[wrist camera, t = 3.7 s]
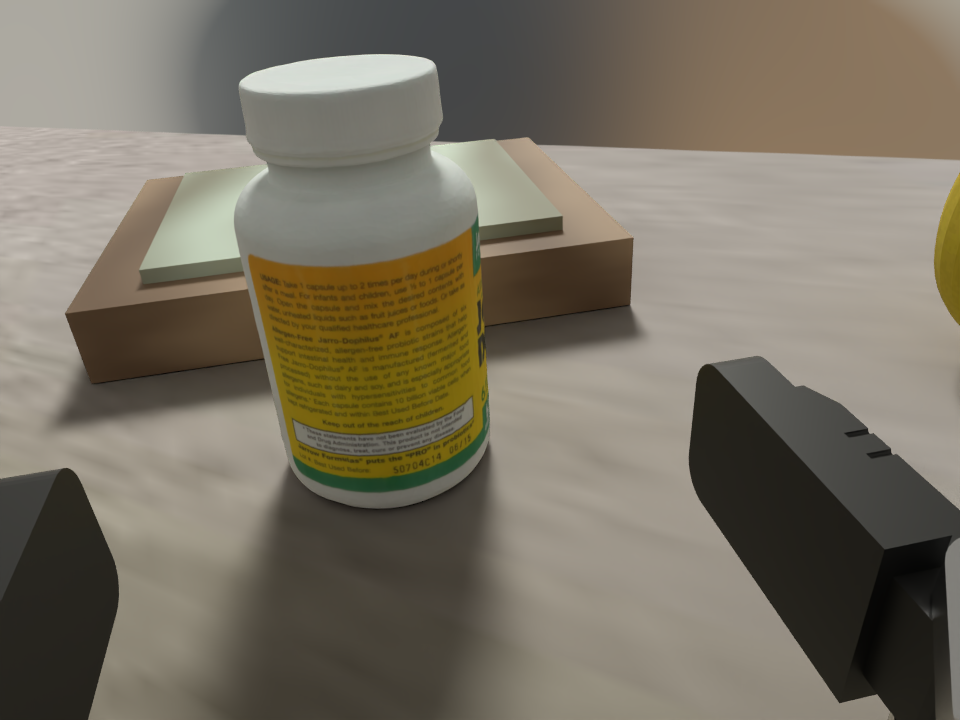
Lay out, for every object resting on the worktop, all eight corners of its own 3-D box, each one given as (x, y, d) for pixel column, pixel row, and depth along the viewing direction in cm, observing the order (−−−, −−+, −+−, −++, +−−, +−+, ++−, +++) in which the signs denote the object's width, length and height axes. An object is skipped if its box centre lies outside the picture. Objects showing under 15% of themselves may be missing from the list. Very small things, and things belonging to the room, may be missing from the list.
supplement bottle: (269, 429, 21) (180, 70, 16) (441, 375, 23) (408, 40, 18) (325, 548, 17) (229, 114, 12) (530, 470, 19) (518, 69, 14)
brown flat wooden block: (529, 187, 38) (527, 127, 37) (630, 304, 27) (634, 223, 25) (162, 231, 36) (144, 169, 34) (91, 383, 24) (59, 298, 22)
